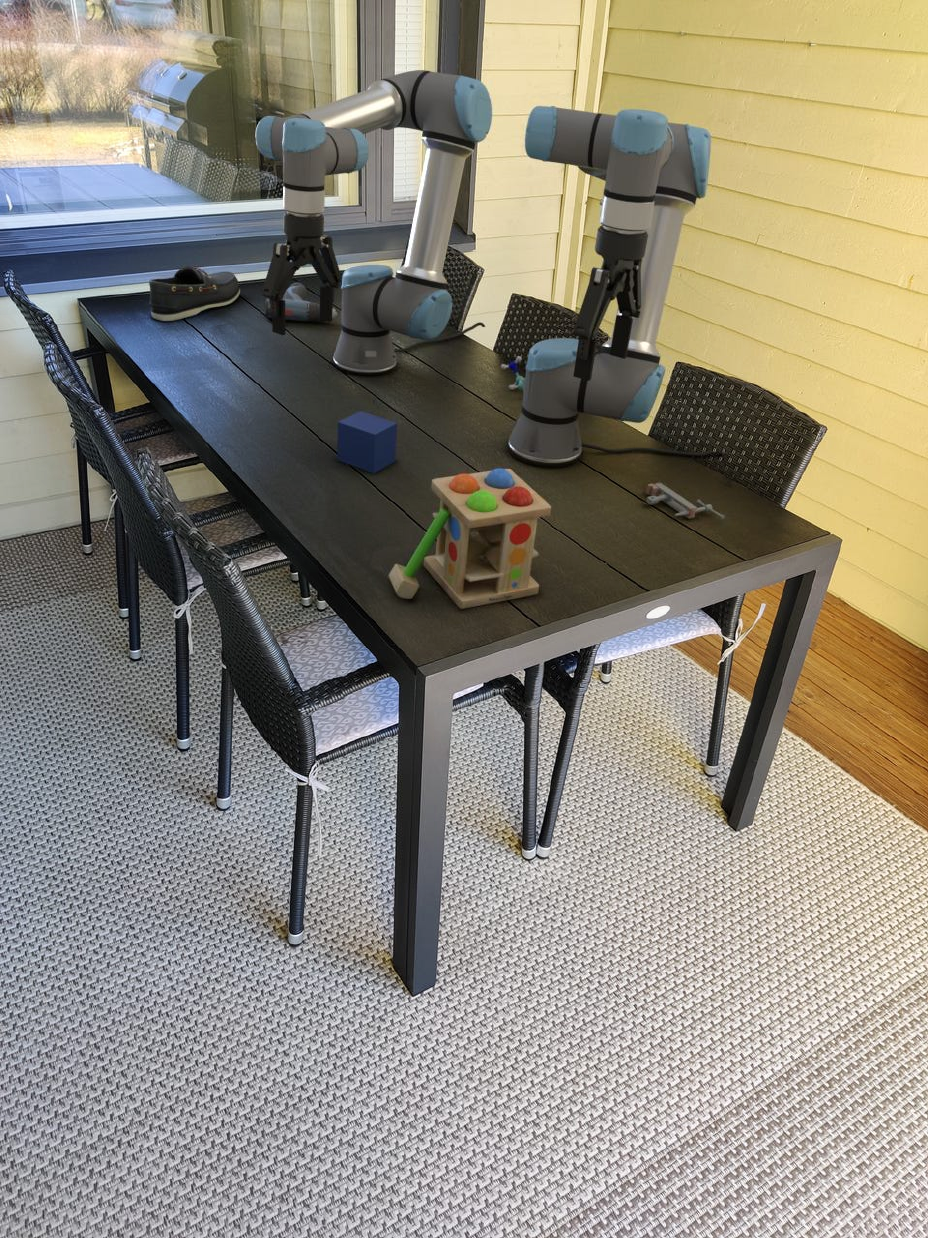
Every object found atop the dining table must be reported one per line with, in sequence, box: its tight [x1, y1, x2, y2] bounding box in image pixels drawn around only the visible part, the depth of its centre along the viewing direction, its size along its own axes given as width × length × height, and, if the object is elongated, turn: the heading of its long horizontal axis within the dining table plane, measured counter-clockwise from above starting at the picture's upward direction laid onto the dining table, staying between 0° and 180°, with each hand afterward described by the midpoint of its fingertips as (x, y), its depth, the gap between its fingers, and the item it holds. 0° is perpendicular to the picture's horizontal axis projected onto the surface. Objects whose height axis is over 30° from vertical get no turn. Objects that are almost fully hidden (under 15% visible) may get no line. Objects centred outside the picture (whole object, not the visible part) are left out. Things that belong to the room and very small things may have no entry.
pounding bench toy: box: [388, 468, 552, 610], centre depth 154 cm, size 23×14×18 cm, turn 116°
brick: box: [337, 410, 398, 474], centre depth 192 cm, size 7×9×8 cm
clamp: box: [645, 482, 726, 521], centre depth 187 cm, size 15×2×10 cm
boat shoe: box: [148, 265, 241, 322], centre depth 262 cm, size 13×33×10 cm, turn 147°
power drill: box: [264, 282, 338, 322], centre depth 265 cm, size 5×19×20 cm
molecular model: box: [500, 355, 525, 394], centre depth 230 cm, size 12×10×10 cm
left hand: (303, 326), depth 193 cm, fingers open, 13 cm apart
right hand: (600, 367), depth 157 cm, fingers open, 13 cm apart
